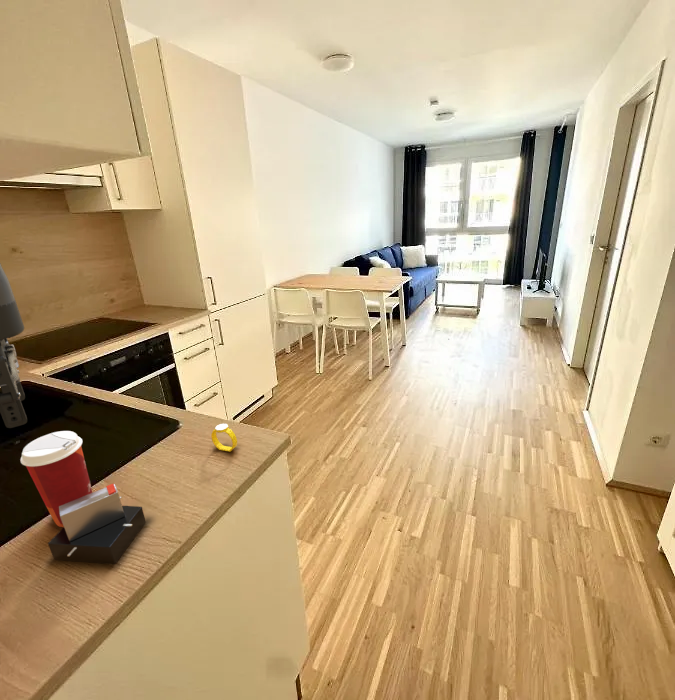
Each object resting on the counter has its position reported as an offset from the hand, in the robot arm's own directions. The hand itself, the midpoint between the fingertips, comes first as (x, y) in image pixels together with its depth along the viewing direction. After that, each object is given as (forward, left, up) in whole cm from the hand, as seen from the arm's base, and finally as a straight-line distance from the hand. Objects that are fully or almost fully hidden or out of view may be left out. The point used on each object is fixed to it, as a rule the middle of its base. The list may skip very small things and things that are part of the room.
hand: (17, 412), depth 51 cm
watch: (+18, +25, -24) cm, 39 cm away
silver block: (+7, 0, -20) cm, 21 cm away
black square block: (+7, 0, -24) cm, 25 cm away
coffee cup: (-2, +5, -24) cm, 24 cm away
